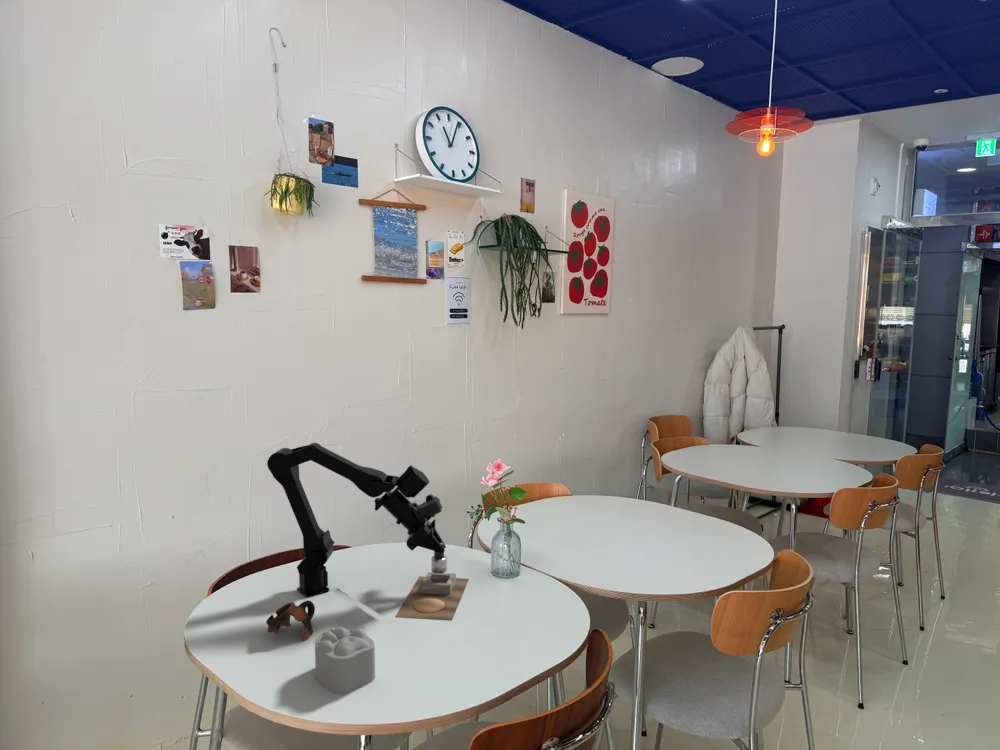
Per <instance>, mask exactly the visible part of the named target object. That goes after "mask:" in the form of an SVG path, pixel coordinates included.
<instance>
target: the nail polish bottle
mask: <svg viewBox="0 0 1000 750" xmlns="http://www.w3.org/2000/svg"><path fill="white" fill-rule="evenodd" d="M438 542H439V543H440V544H441V546H442V547H443V548H444V544H445V542H444V541H443V542H440V541H438ZM447 560H448V558H447V555H445V552H444V553H442V554H441V553H438V552H436V551H433V555H432V557H431V565H430V566H431V573H446V572H447V569H448V568H447V563H448V562H447Z"/></svg>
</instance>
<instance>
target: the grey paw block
mask: <svg viewBox="0 0 1000 750" xmlns="http://www.w3.org/2000/svg"><path fill="white" fill-rule="evenodd" d="M375 647H376V646H375V641H374V640H373V639H372V638H370V636H368V635H367V634H366V633H365V632H364V630H363V629H361V628H359V627H358V628H355V629H353V628H351V629H348V628H344V626H343V627H342V626H338V627H337V628H332V629H329V630H326V631H324V632H321V634H319V635H318V636H317V638H316V639H315V641H314V652H315V653H314V655H315V656H314V657H315V658H314V659H315V660H314V663H315V664H314V665H315V667H314V668H315V681H316V682H317V683H318V684H319V685H320V686H321V687H323V688H324V689H325V690H327V691H329V692H331V693H333V694H338V695H339V694H340V695H344V694H348V693H351V692H352V691H354V690H356V689H358V688H360V687H362V686H365V685H368V684H370V683H373V681H375V679H376V654H375V652H376V651H375Z"/></svg>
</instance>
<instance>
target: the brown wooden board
mask: <svg viewBox="0 0 1000 750" xmlns="http://www.w3.org/2000/svg"><path fill="white" fill-rule="evenodd" d="M469 580H470V578H457V577H456V573H448V572H447V573H446V572H444V573H433V572H427V573H426V575H425V576H419V577H418V578H417V580H416V581H415V582H414V585H413V586H412V588H411V590H410V592H409V593H408V595H407V596H406V598H405V600H404V601H403V603H402V604H401V606H400V608H399V610H398V611H397V612H396V615H395V616H394V618H399V619H400V618H401V619H416V620H417V619H419V620H433V621H434V620H435V621H438V620H439V621H451V622H452V621H453V619H454V617H455V614H456V612H457V609H458V607H459V604H460V602H461V600H462V597H463V595H464V592H465V590H466V588H467V585H468V583H469Z"/></svg>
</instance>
